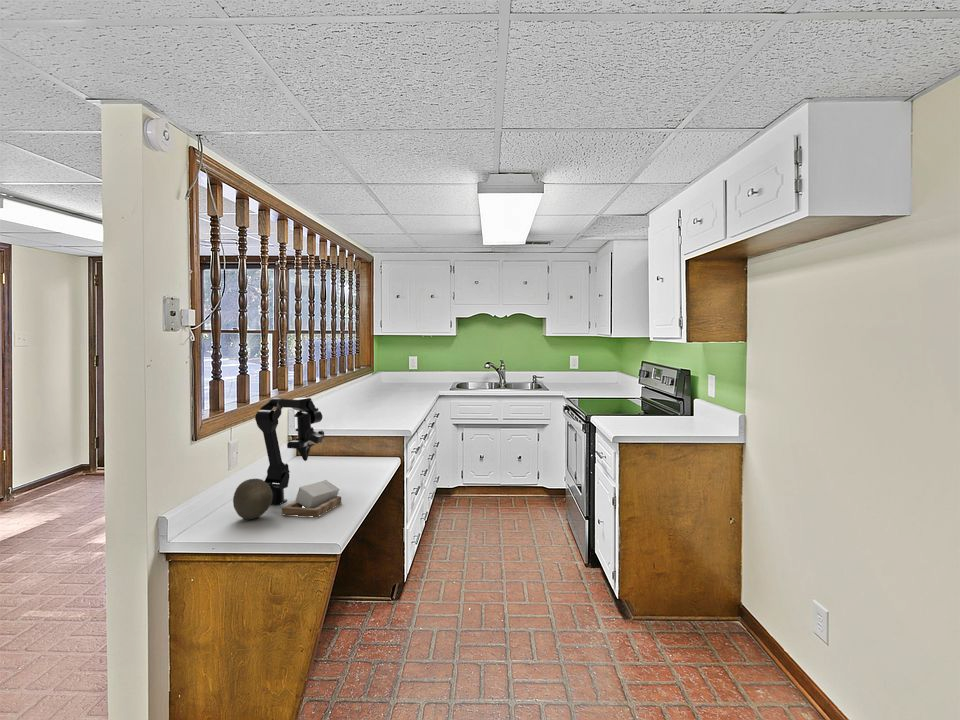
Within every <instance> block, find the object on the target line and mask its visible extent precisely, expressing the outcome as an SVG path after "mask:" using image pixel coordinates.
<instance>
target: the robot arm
mask: <svg viewBox="0 0 960 720" xmlns="http://www.w3.org/2000/svg"><path fill="white" fill-rule="evenodd" d="M274 408H275V410H273V409H274ZM283 408H288V409H289V408H290V409H292V410H294V411H297V412H296V413H295V414H294V416H293V417H295V418H296V421H297V428H295V432H297V437H295V439H294V440H290V441H287V443H286V448H287V449H297V451H298V453H299V454H300V456H301V458H302V460H303V461H304V462H306V461H308V458H309V454H310V451H311V448H313V447H314V446H315V444H316V445H317V444H319V443H322V442H323V439H325V438H326V437H325V431H324V430H322V429H321V430H319V431H315V429H314V427H312V425H313V424H316V423H320V422H321V421H322V420H323V414H322V412H321V411H320V410H319V407H316V406H315V404H314V402H313V400H312V398H310V397H295V398H293V399H292V398H291V399H290V398H282V397H272V398H270V399H269V401H268V402H267V403H265V404H263V406H261V407H260V408H259V409H258V411H257V412H256V414H255V416H254V418H255V419H254V420H255V422H256V426H257V428H258V429H259V430H260V432H262V435H263V438H264V439H263V440H264V443H265V448H266V453H267V459H268V463H269V465H268V468H267V470H266V474H267V475H266V477H265V479H264V481H265V482H266V483H267V484H268V485H269V486H270V488H271V490H272V493H273V498H272V503H271V505H274V504H279V505H281V504H283V503H285V501H286V502H287V501H288V499H287V498H286V499H285V490H284V489H286V488H288V487H289V483H290V473H291V471H290V469H289V464H288V463H284V462H283V461H282V456H281V455H282V454H281V450H280V446H279V439H278V435H277V434H278V433H277V427H278V424H279V419H280V417H281V415H282V409H283ZM282 502H283V503H282ZM280 503H281V504H280Z"/></svg>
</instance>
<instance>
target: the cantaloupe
mask: <svg viewBox="0 0 960 720" xmlns="http://www.w3.org/2000/svg"><path fill="white" fill-rule="evenodd" d="M272 498H273V493H272V490H271V488H270V486H269V485H268V484H267V483H266V482H265V480H264V479H261V478H249V479H245V480H243V481H242V482H241V483H240V484H239V485H237V487H236V489H235V491H234V493H233V497H232V503H233V508H234V511H235V512H236V514H237V516H239V517H240V518H242V519H244V520H247V519H250V520H254V519H258V518H260V517H261V516H262V515H263V514H265V513H267V511H269V508H271V505H272V504H271V503H272Z"/></svg>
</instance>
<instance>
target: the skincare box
mask: <svg viewBox="0 0 960 720" xmlns="http://www.w3.org/2000/svg"><path fill="white" fill-rule="evenodd" d="M339 492H340V488H339V487H338V486H336V485H335V484H333V483H332V482H330V481H328V480H327V479H325V480H321V481H318V482H315V483H311V484H307V485H302V486H300V487H299V488H298V490H297V494H296V498H295V500H294V501H297V502H298V503H300V504H301V505H302V506H304V507H305V508H316V507H318V506H320V505H322V504H323V503H325V502H327V501H329V500H331V499H332V498H334V497H336V496H339V495H338V494H339Z"/></svg>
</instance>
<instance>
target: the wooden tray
mask: <svg viewBox="0 0 960 720" xmlns="http://www.w3.org/2000/svg"><path fill="white" fill-rule="evenodd" d="M340 503H341V504H342V496H341V495H337V496H336V497H334V498H332V499H331V500H329V501H327V502H325V503H323V504H322V505H320V506H318V507H316V508H302V505H301V504H300V503H298V502H297V501H295V500H294V501H293V502H291V503H289V504H287V505H285V506H283V507H281V515H282V514H285V515H298V516H313V517H318V516H319V515H321V514H323V513H325V512H326V511H328V510H330V509H331V510H333V509H334V508H333V507H335V506H336V507H338V506H340V505H341V504H340ZM339 504H340V505H339ZM337 505H338V506H337ZM336 507H335V508H336ZM332 508H333V509H332ZM331 510H330V511H331ZM328 512H329V511H328ZM326 513H327V512H326ZM326 513H325V514H326ZM323 515H324V514H323ZM321 516H322V515H321ZM318 518H319V517H318Z"/></svg>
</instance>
